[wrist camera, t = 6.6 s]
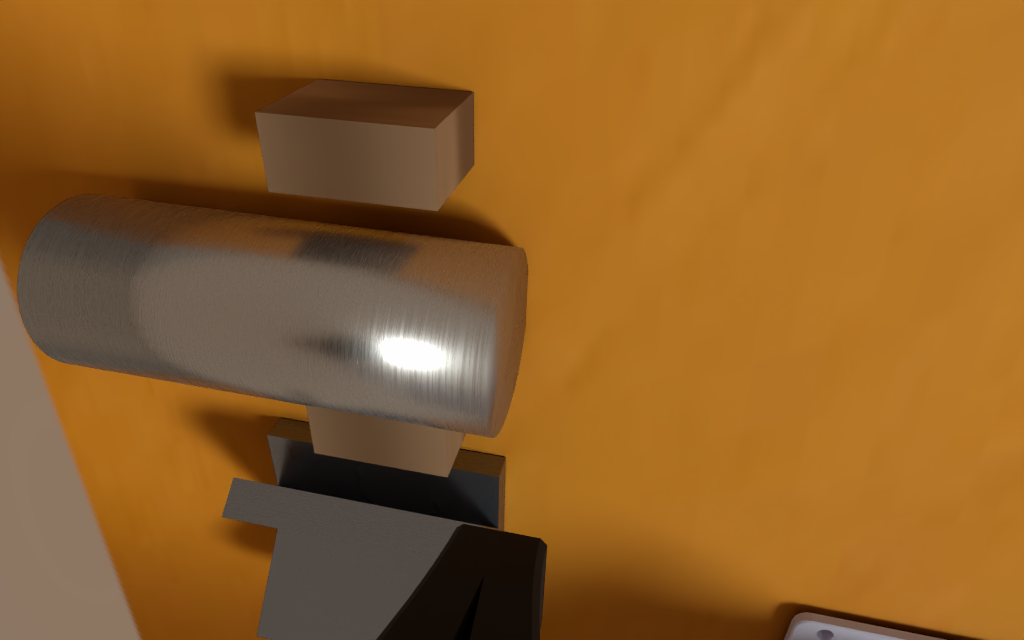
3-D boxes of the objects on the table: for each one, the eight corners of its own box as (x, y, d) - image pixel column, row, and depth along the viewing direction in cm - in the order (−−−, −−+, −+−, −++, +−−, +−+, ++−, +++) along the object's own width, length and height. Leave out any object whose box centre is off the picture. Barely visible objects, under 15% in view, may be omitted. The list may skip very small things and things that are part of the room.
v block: (505, 456, 23) (474, 551, 19) (502, 603, 27) (475, 700, 24) (280, 417, 24) (216, 499, 21) (309, 562, 28) (260, 649, 25)
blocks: (473, 91, 17) (435, 129, 14) (475, 410, 22) (447, 477, 19) (317, 78, 17) (254, 112, 15) (356, 390, 23) (314, 453, 20)
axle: (527, 208, 17) (480, 347, 14) (528, 339, 21) (490, 475, 18) (107, 159, 19) (-20, 271, 16) (171, 286, 23) (77, 399, 20)
